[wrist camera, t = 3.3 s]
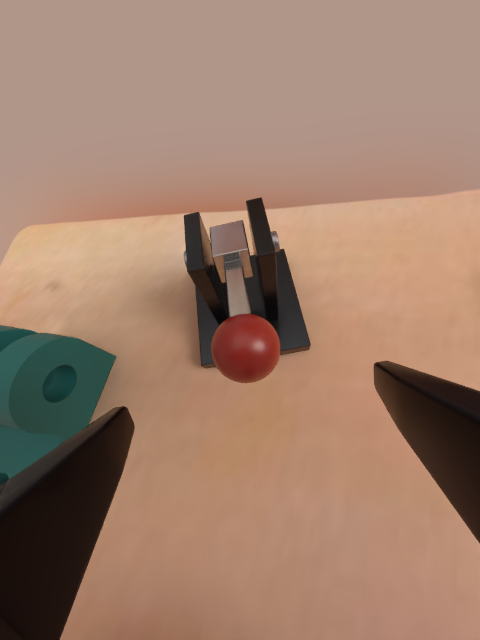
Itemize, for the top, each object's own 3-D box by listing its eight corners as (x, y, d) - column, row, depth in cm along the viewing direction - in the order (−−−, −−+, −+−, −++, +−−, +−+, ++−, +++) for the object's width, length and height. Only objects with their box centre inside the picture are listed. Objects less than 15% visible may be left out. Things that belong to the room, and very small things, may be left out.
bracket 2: (309, 350, 21) (328, 288, 12) (205, 368, 22) (151, 323, 13) (283, 256, 25) (284, 160, 17) (197, 274, 26) (153, 192, 17)
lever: (287, 386, 13) (286, 359, 10) (222, 397, 13) (203, 373, 10) (257, 251, 18) (250, 210, 16) (212, 261, 19) (197, 222, 16)
